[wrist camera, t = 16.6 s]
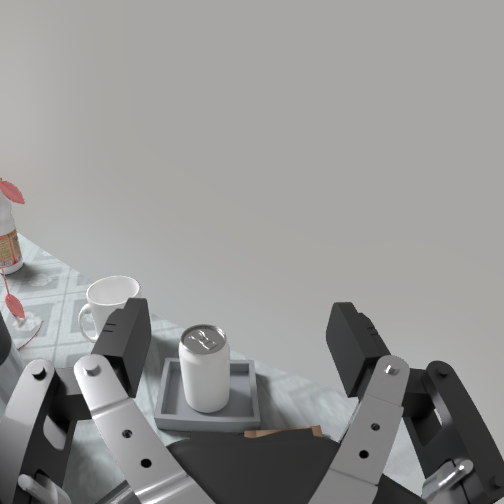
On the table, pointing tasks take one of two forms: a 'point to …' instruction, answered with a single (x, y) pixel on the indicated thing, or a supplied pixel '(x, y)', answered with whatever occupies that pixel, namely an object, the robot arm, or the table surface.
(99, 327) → the mug
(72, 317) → the table surface
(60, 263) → the table surface
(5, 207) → the fruit juice
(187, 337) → the can
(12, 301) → the figurine
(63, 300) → the table surface
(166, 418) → the grey shallow rectangular tray
